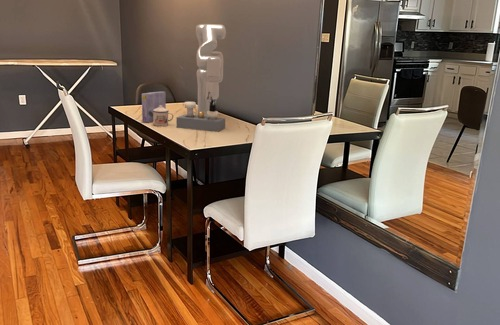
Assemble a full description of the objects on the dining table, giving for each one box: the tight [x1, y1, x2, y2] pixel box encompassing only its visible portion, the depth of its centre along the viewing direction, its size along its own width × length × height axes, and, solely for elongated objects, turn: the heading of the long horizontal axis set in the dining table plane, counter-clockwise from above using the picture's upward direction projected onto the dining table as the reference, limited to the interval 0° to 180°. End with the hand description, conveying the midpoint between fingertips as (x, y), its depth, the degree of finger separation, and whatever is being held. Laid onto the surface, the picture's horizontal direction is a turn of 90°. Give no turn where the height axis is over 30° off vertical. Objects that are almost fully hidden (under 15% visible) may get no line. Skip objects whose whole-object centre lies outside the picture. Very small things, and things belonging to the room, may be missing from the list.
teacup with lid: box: [153, 105, 174, 127], centre depth 274 cm, size 12×9×12 cm
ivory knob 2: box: [207, 110, 219, 120], centre depth 268 cm, size 6×6×9 cm
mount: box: [176, 113, 226, 133], centre depth 271 cm, size 12×26×6 cm, turn 73°
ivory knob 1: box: [184, 101, 197, 118], centre depth 271 cm, size 6×6×9 cm
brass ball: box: [197, 111, 204, 118], centre depth 270 cm, size 4×4×4 cm
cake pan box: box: [141, 91, 167, 124], centre depth 285 cm, size 19×5×18 cm, turn 152°
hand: (212, 111), depth 267 cm, fingers closed
